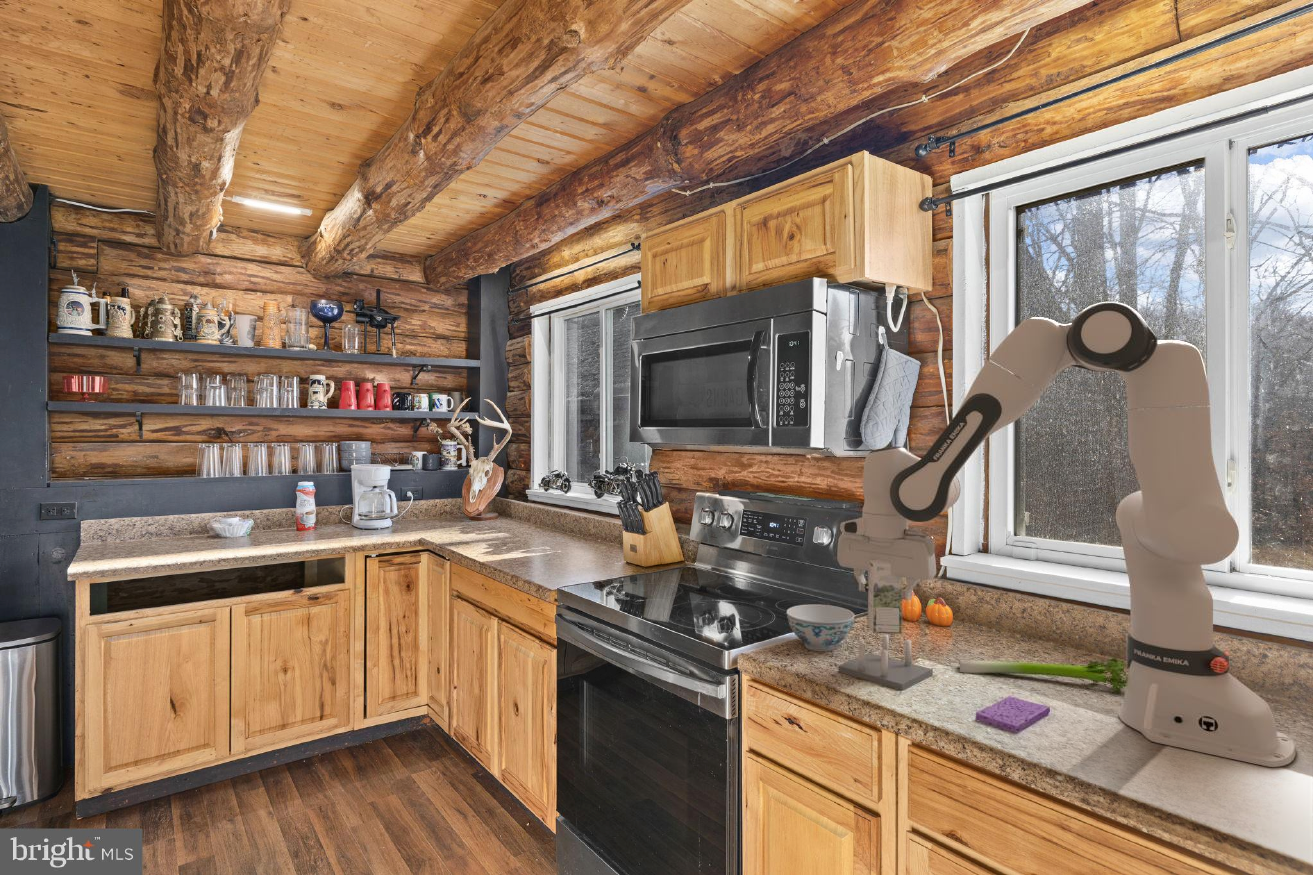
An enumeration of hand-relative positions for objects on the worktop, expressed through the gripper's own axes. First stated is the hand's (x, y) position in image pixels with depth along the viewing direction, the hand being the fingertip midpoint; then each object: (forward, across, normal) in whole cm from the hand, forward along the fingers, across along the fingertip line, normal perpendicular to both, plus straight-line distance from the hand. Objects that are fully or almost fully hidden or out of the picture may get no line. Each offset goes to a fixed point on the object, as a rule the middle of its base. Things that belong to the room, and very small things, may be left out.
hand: (884, 595), depth 141 cm
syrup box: (+7, 0, 0) cm, 7 cm away
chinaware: (+16, +19, -5) cm, 25 cm away
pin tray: (+16, 0, 0) cm, 16 cm away
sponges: (+16, -26, +3) cm, 31 cm away
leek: (+16, -23, -19) cm, 34 cm away
